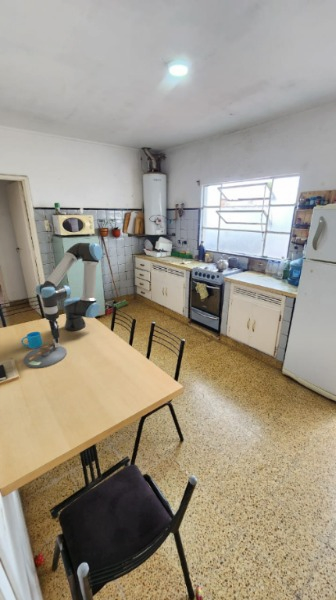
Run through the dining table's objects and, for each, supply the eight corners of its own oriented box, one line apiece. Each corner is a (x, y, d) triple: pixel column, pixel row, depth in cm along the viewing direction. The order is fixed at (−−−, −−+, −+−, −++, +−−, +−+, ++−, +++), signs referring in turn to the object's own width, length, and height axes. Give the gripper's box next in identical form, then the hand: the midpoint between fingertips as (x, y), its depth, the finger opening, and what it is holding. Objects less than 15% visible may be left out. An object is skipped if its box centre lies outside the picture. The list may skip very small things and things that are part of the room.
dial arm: (54, 345, 165) (53, 339, 164) (61, 346, 163) (60, 341, 162) (26, 362, 146) (25, 356, 144) (34, 364, 144) (33, 358, 143)
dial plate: (56, 343, 171) (56, 337, 170) (73, 356, 155) (72, 350, 154) (18, 356, 155) (16, 351, 154) (32, 373, 139) (30, 367, 138)
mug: (42, 341, 174) (40, 330, 171) (42, 346, 167) (40, 335, 164) (22, 345, 169) (20, 334, 166) (21, 350, 162) (19, 339, 159)
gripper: (42, 310, 156) (48, 344, 163) (47, 316, 146) (54, 352, 153) (55, 308, 160) (60, 341, 167) (61, 313, 151) (66, 348, 158)
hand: (57, 346), depth 160 cm, fingers closed
